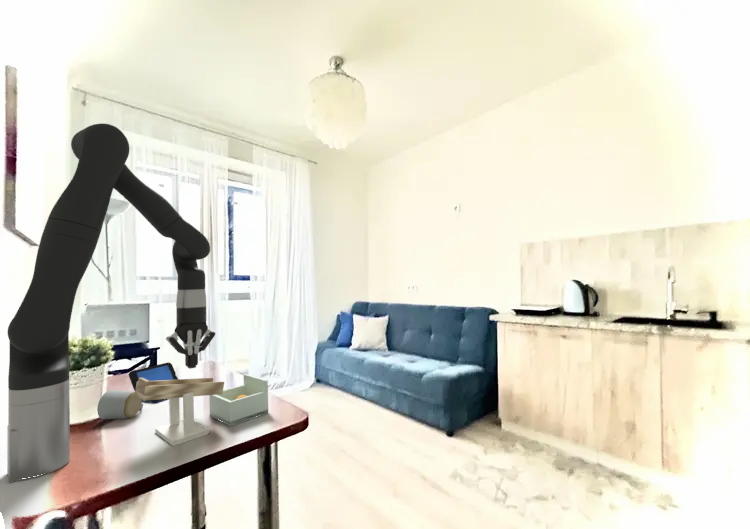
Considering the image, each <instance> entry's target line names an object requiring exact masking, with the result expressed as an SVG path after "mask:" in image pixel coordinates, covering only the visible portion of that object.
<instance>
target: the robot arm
mask: <svg viewBox="0 0 750 529" xmlns="http://www.w3.org/2000/svg"><path fill="white" fill-rule="evenodd" d="M70 142H71V144H70V146H71V151H72V152H73V155H74V156H75V157H76V158H77V159H78V163H77V166H76V168H75V172H74V174H73V176H72V179H70V182H69V183H68V185H66V187H65V189H64V190H63V192H62V193H61V195H60V196H59V198H58V199H57V201H56V202H55V203H54V205H53V207H52V209H51V211H50V213H49V215H48V217H47V220H46V223H45V226H44V229H43V231H42V234H41V236H40V241H39V245H38V247H37V253H36V258H35V263H34V264H35V265H34V270H33V274H32V278H31V282H30V283H29V287H28V289H27V291H26V293H25V295H24V298H23V299H22V302H21V303H20V306H18V309H17V311H16V313H15V315H14V317H13V318H12V319H11V321H10V323H9V325H8V327H7V338H8V341H9V364H8V377H7V379H8V382H7V383H8V385H7V386H8V394H7V395H8V399H7V400H8V401H7V402H8V409H7V410H8V413H7V414H8V418H7V419H8V421H7V422H8V425H7V433H6V434H7V445H6V446H7V450H6V451H7V453H6V454H7V455H6V459H7V460H6V461H7V466H6V467H7V472H6V473H7V478H8V482H9V483H13V482H16V480H17V481H20V480H19V479H22V478H28V477H33V476H37V475H41V474H44V473H47V474H49V473H48V472H50V473H52V472H54V471H56V470H59V469H61V468H63V467H64V466H65V465H67V464H68V463H69V462H70V458H71V457H70V454H71V444H70V443H71V437H70V436H71V435H70V434H71V433H70V432H71V431H70V430H71V429H70V427H71V426H70V425H71V423H70V420H71V419H70V417H71V416H70V403H71V402H70V355H69V354H70V353H69V349H70V348H69V345H70V344H69V343H70V342H69V341H70V340H69V336H70V334H69V333H70V328H71V320H72V319H71V318H72V314H73V308H74V303H75V299H76V295H77V291H78V287H79V285H80V283H81V281H82V280H83V277H84V275H85V274H86V273H85V272H87V269H88V267H89V265H90V262H91V260H92V258H93V256H94V252H95V250H96V248H97V245H98V242H99V239H100V236H101V232H102V229H103V225H104V222H105V219H106V216H107V212H108V208H109V205H110V202H111V201H110V200H111V197H112V193H113V191H114V190H115V191H116V192H118V193H119V194H120V195H121V196H122V197H123V198H124V199H125V200H126V201H128V202H129V203H130V204H131V205H132V206H133V207H134V208H135V209H136V210H137V212H139V213H140V214H141V215H142V216H143V217H144V219H145V220H146V221H147V222H148V223H149V224H150V225H151V226H152V227H153V228H154V229H155V230H156V232H158V233H159V234H160V235H161V236H162V237H164V238H167V239H168V238H169V239H172V240H173V241H174V243H173V244H172V252H171V253H172V259H173V264H174V267H175V270H176V274H177V293H176V302H175V306H176V326H175V328H174V332H172V334H171V335H169V336H166V338H165V340H166V341H167V342H168V343H169V345H170V346H172V348H174V350H176V352H177V353H179V354H182V355H184V356H185V357H184V358H185V359H184V361H185V362H184V363H185V366H186V367H187V368H188V369H195V368H197V366H198V365H199V353H200V352H203V351H206V348H207V347H209V345H210V343H211V342H212V340H213V338H215V336H216V332H214V331H212V330H210V329H209V326H208V325H207V294H206V273H205V271H204V270H203V269H201V268H199V266H198V262H197V261H198V260H204V259H206V257H208V256H209V255H210V253H211V245H210V242H209V240H208V239H207V237H206V236H205V235H204V234H203V233H202V232H201V231H200V230H198V229H197V228H196V227H195V226H194V225H192V224H190V223H189V222H188V221H186V220H185V219H184V218H183V217H182V215H180V213H179V212H178V211H177V210H176V208H174V206H173V205H172V204H171V203H170V202H169V201H168V200H167V199H166V198H165V197H164V196H163V195H161V194H160V193H159V192H157V191H156V190H154V189H153V188H152V187H150V186H149V185H148V184H146V183H145V182H144V181H143V180H141V179H140V178H139V177H138V176H137V174H135V173H134V172H133V171H132V170H131V169H130V168H129V167H128V165H126V163H127V160H128V158H129V155H130V144H129V140H128V138H127V135H126V134H125V133H124V132H123V131H122V130H121V129H120V128H119V127H117V126H115V125H113V124H111V123H110V124H109V123H96V124H91V125H89V126H87V127H85V128H83V129H82V130H80V131H78V132H76V133H75V134H74V135H73V136H72V139H71V140H70ZM203 337H204V338H203ZM202 338H203V339H202ZM179 339H180V340H181V342H182V344H183V346H182V345H181V343H179V342H178V341H179ZM44 475H45V474H44ZM41 476H42V475H41Z"/></svg>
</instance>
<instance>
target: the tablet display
mask: <svg viewBox="0 0 750 529" xmlns="http://www.w3.org/2000/svg"><path fill="white" fill-rule="evenodd" d="M128 377H129V380H130V383H131V385H132V388H133V391H134V392H135V389H136V384H137V382H138V379H139V378H145V379H147V380H149V381H158V380H178V379H179V378H178V375H177V374H176V371H175V368H174V366H173V364H172V363H171V362H164V363H160V364H156V365H153V366H152V365H151V366H147V367H143V368H139V369H134V370H131V371H129V372H128ZM165 400H167V399H158V400H146V401H144V400H142V402H146V403H147V402H148V403H154V404H155V403H156V404H157V403H160V402H162V401H165Z"/></svg>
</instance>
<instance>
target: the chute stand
mask: <svg viewBox="0 0 750 529" xmlns="http://www.w3.org/2000/svg"><path fill="white" fill-rule="evenodd" d="M194 401H195V400H194V396H193V392H190V393H186V394H183V397H182V411H183V412H182V415H183V418H182V420H180V398H170V399H168V402H169V404H168V405H169V407H168V408H169V409H168V410H169V424H165V425H162V426H159V427H156V428H155V430H154V432H155V434H156V435H158V436H159V437H160V438H161V439H163V440H164V441H166V443H168V444H169V445H171V446H172V447H175V446H178V445H181V444H183V443H186V442H189V441H191V440H195V439H197V438H200V437H203V436H206V435H209V434H208V433H209V429H208V428H206V427H205V426H203V425H201V424H199V423H198V422H196V421H195V413H194V412H195V411H194V410H195V409H194V407H195V406H194Z"/></svg>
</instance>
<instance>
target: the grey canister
mask: <svg viewBox="0 0 750 529" xmlns="http://www.w3.org/2000/svg"><path fill="white" fill-rule="evenodd" d="M134 394H135V391H134V390H133V391H132V390H117V389H115V390H114V389H112V390H107V391H106V392H104V393H103V394H102V396H101V397H100V399H99V401H98V404H97V408H96V409H97V416H98V418H100V419H102V420H122V419H123V420H124V419H126V420H127V419H131V418H134V417H135V416H136V415H137V414H138V413H139V411H140V410H141V411H142V410H143V407H144V403H143V401H142V399H140V398H139V397H137V396H136V395H134Z"/></svg>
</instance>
